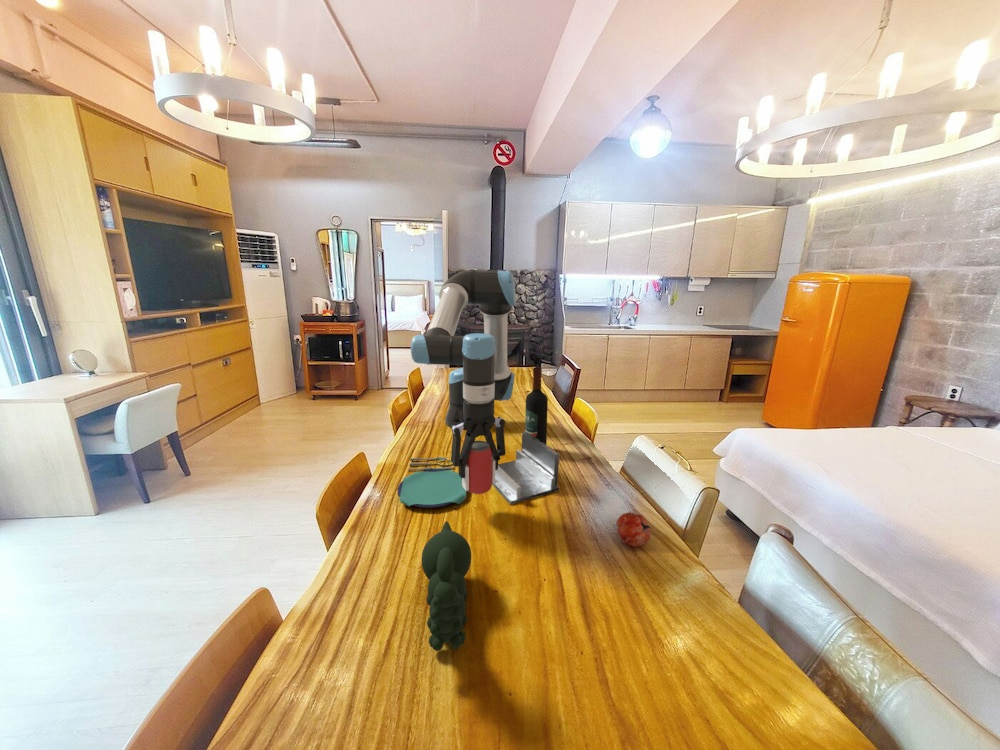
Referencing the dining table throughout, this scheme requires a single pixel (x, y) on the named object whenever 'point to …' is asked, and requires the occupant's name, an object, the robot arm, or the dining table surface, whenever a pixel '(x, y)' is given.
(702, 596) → the dining table surface
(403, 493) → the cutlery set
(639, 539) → the pomegranate
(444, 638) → the toy figurine
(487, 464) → the beer can
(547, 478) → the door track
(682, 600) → the dining table surface
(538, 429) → the wine bottle
